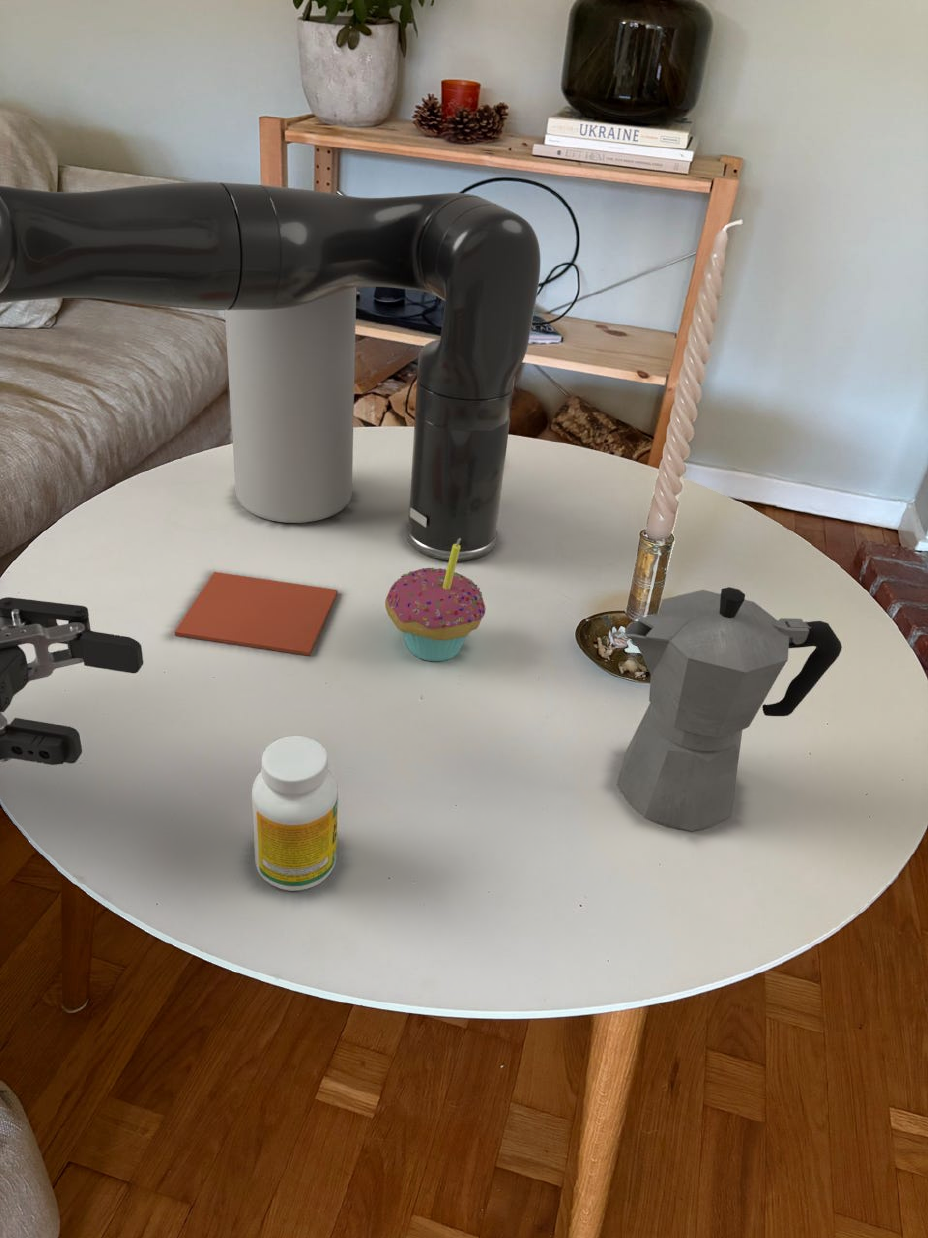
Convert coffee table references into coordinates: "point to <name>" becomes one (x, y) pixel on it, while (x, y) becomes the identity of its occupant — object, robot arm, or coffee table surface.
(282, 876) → the supplement bottle
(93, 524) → the coffee table surface
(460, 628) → the cupcake
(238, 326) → the cylinder vase
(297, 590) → the square tile
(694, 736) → the coffeepot
